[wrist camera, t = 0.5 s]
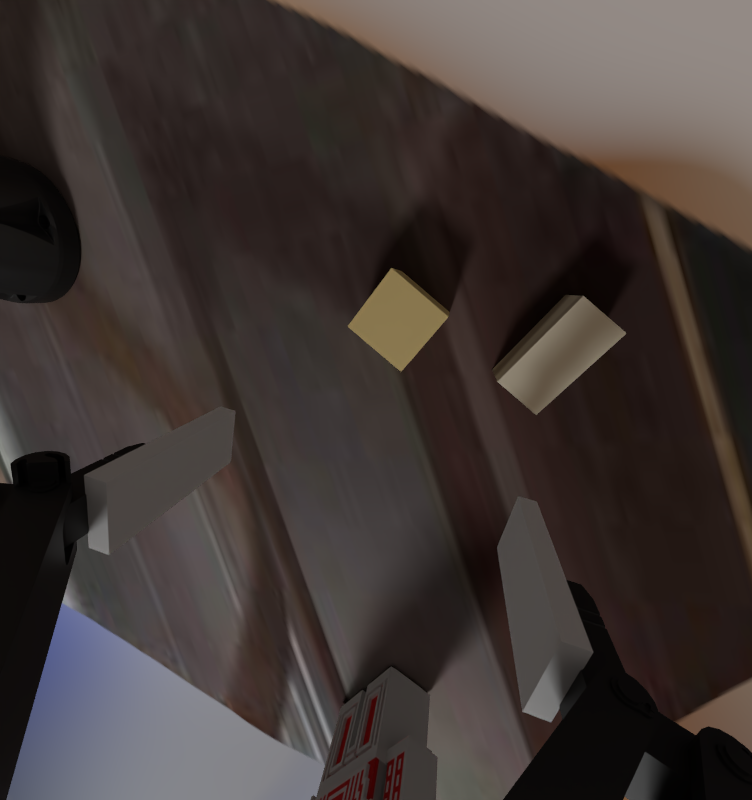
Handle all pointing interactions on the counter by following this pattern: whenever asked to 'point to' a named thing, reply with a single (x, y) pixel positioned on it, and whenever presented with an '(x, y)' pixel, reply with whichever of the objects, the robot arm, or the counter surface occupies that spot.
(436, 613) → the counter surface
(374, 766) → the toy
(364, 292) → the counter surface
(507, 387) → the birch plinth
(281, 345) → the counter surface
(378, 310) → the ochre cube
